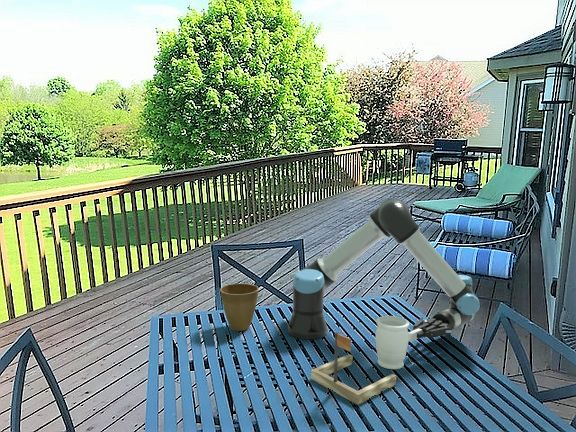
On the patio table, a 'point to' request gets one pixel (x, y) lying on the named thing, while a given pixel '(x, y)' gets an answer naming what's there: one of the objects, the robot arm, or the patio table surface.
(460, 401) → the patio table surface
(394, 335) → the jar
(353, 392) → the box
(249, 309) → the plant pot
